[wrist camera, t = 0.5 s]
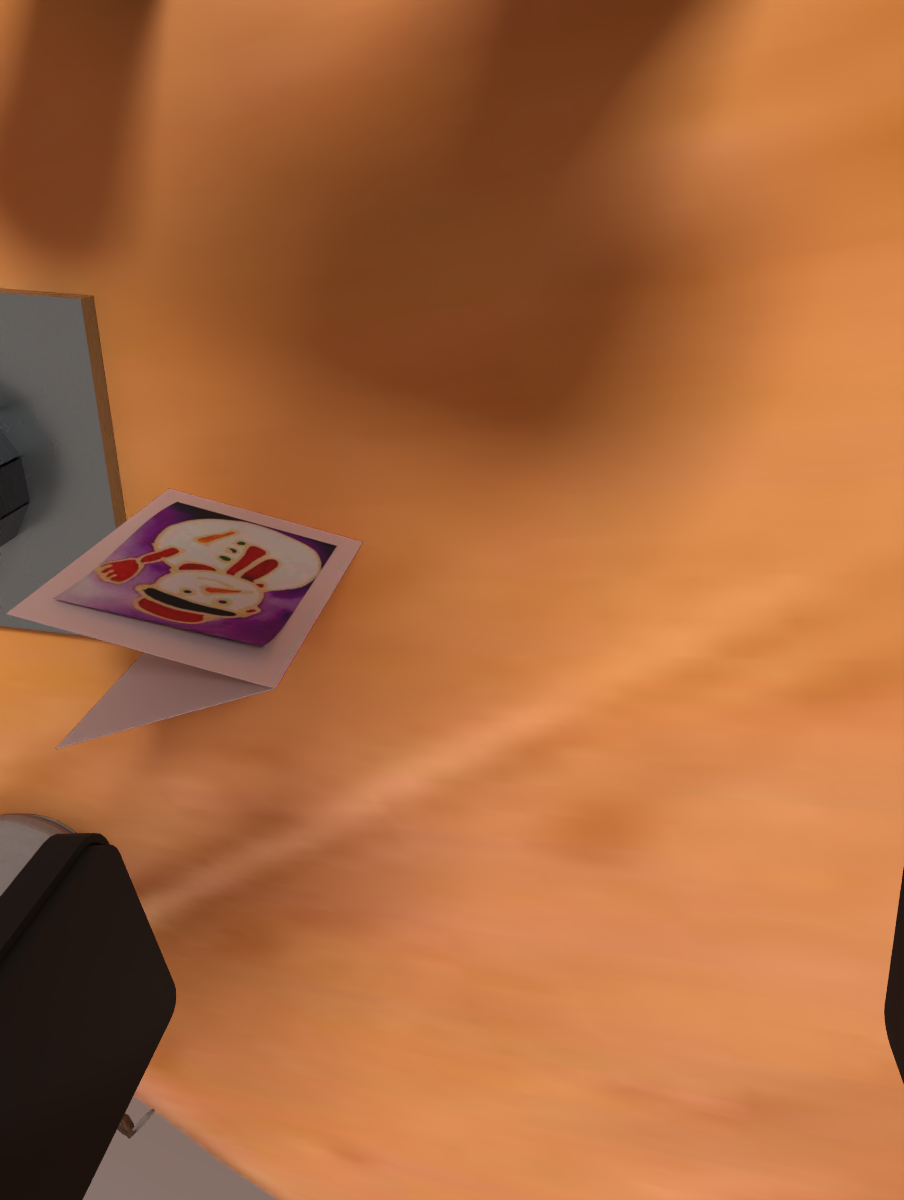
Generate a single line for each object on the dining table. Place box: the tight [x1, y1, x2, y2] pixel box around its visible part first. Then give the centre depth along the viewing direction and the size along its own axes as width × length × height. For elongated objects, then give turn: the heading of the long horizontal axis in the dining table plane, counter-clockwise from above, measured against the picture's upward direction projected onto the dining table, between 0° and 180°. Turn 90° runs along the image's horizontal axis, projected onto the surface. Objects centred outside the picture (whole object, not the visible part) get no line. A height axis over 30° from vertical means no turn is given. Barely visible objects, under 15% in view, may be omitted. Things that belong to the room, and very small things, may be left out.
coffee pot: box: [0, 815, 155, 1139], centre depth 57 cm, size 21×12×15 cm, turn 60°
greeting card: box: [7, 488, 363, 749], centre depth 41 cm, size 11×7×15 cm, turn 77°
